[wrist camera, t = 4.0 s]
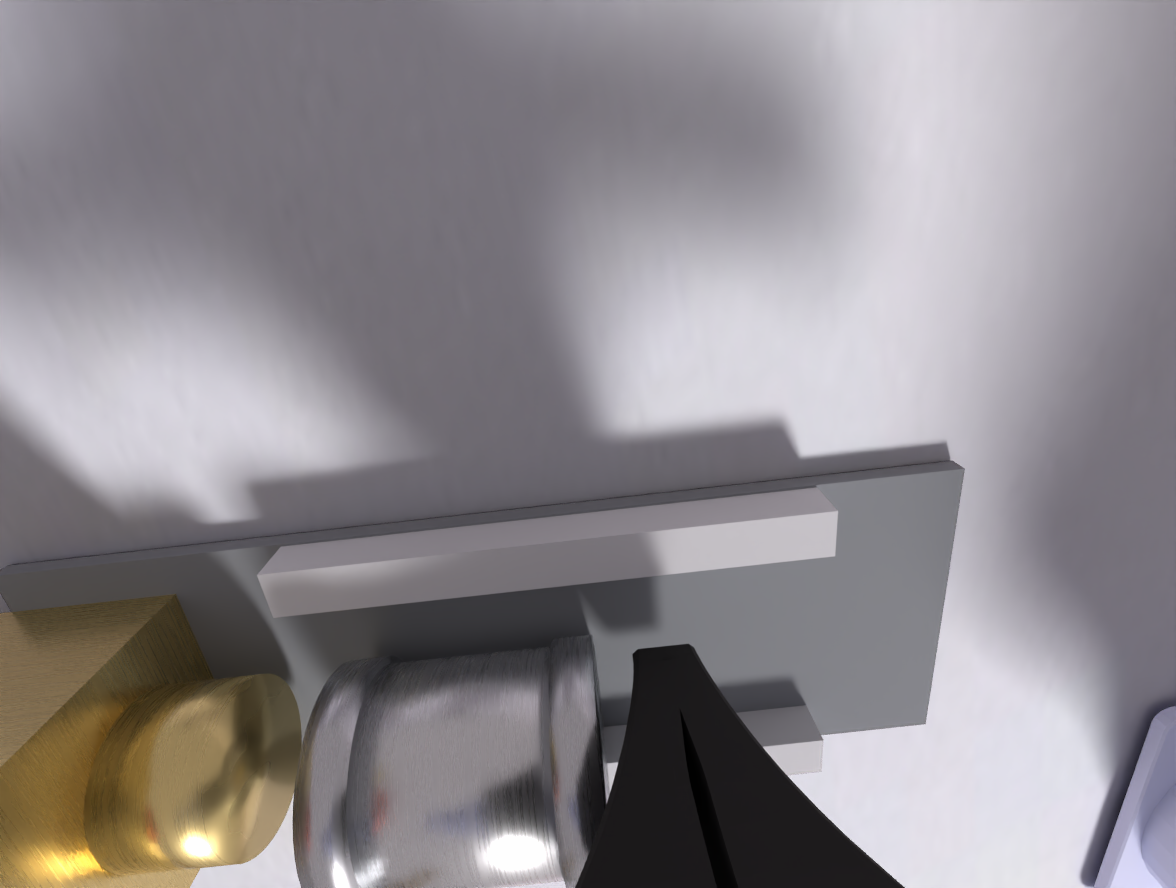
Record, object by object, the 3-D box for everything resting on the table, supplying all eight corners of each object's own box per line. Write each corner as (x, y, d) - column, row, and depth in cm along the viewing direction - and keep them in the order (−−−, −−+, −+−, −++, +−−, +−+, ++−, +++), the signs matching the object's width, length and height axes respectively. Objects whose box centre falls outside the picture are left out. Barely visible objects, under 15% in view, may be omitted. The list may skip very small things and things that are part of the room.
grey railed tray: (952, 460, 12) (998, 490, 11) (916, 711, 15) (950, 759, 13) (7, 565, 12) (-58, 607, 11) (139, 794, 15) (98, 850, 14)
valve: (269, 583, 12) (-45, 982, 6) (336, 760, 14) (152, 1202, 8) (-40, 617, 12) (-677, 1049, 6) (69, 789, 14) (-325, 1249, 8)
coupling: (586, 592, 12) (605, 840, 8) (601, 696, 14) (620, 914, 11) (339, 618, 12) (261, 876, 8) (401, 717, 14) (361, 940, 11)
